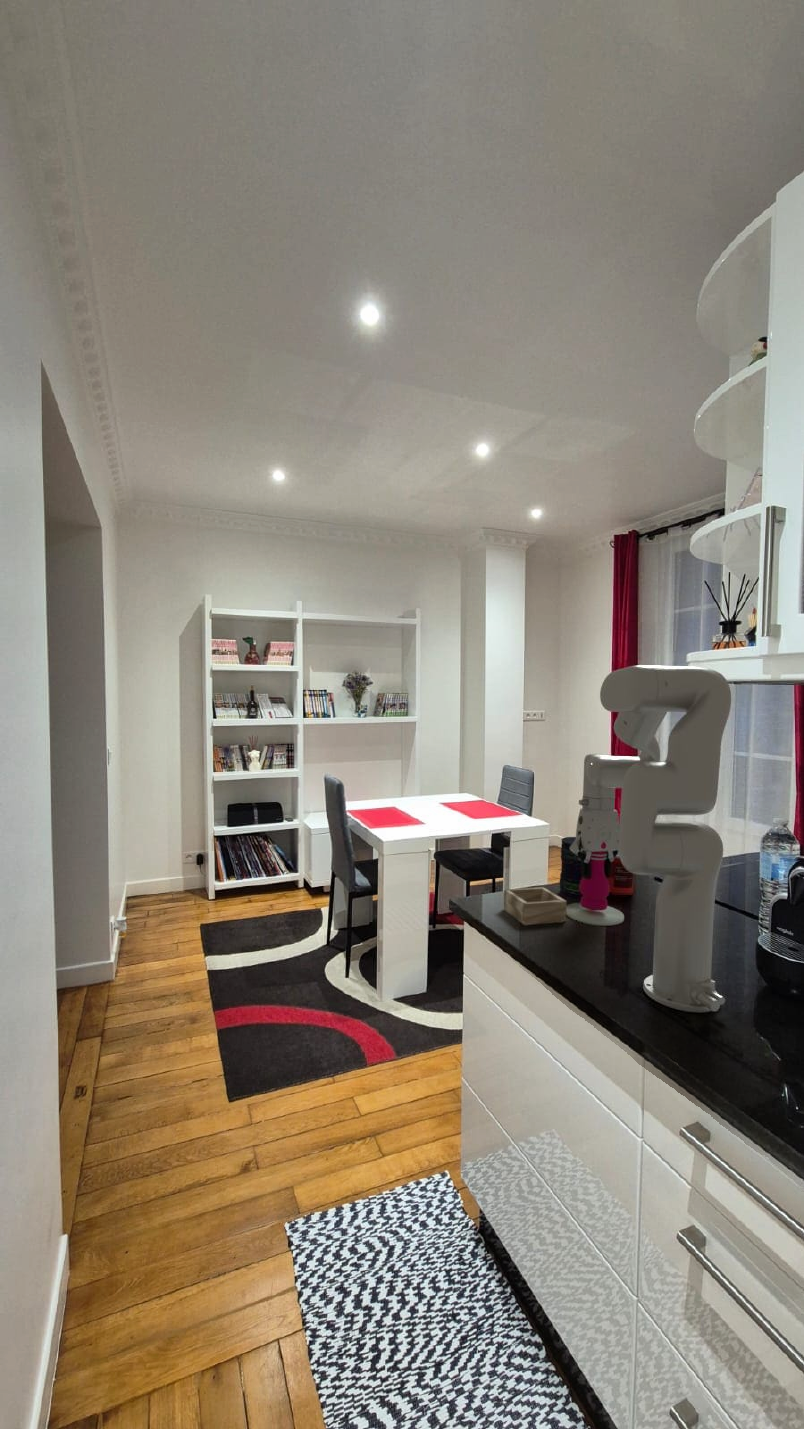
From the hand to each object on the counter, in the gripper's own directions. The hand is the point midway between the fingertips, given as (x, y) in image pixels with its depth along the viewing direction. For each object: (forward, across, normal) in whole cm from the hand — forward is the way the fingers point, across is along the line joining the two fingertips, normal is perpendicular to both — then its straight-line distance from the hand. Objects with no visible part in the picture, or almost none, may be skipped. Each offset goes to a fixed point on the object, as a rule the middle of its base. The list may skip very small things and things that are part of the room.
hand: (595, 876), depth 150 cm
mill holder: (+10, -15, +3) cm, 18 cm away
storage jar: (+10, +5, +15) cm, 19 cm away
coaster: (+10, 0, 0) cm, 10 cm away
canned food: (+10, +18, +15) cm, 26 cm away
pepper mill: (+8, 0, 0) cm, 8 cm away
